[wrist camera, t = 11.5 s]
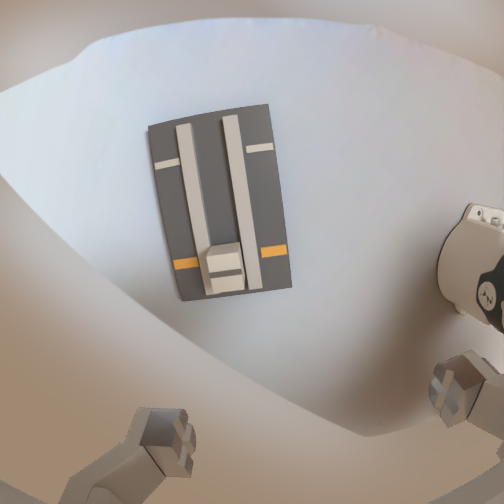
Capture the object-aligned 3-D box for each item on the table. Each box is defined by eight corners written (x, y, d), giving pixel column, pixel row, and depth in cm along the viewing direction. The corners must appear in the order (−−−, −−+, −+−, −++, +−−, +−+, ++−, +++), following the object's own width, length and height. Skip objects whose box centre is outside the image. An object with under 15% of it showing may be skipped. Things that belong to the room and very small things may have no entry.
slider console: (267, 107, 32) (268, 101, 29) (290, 281, 38) (293, 291, 35) (153, 128, 32) (144, 125, 29) (185, 294, 38) (179, 305, 35)
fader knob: (240, 239, 34) (238, 252, 29) (245, 271, 35) (244, 289, 30) (212, 243, 34) (205, 257, 29) (218, 275, 35) (213, 293, 30)
